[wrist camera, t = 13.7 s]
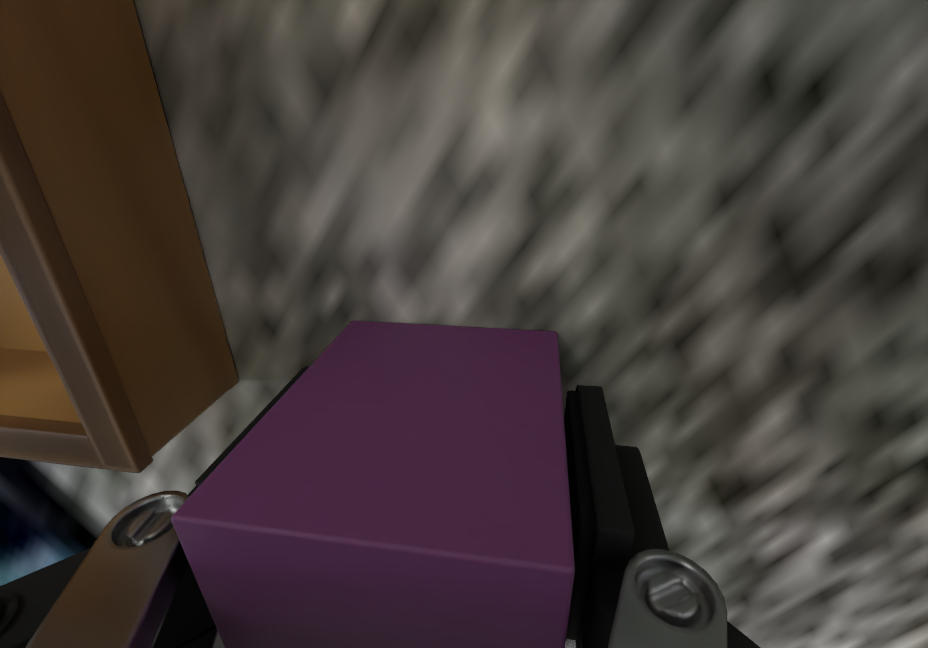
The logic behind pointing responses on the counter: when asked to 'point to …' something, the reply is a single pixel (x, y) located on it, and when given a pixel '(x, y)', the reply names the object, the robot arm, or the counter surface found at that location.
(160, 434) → the wooden tray
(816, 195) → the counter surface
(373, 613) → the plum block
